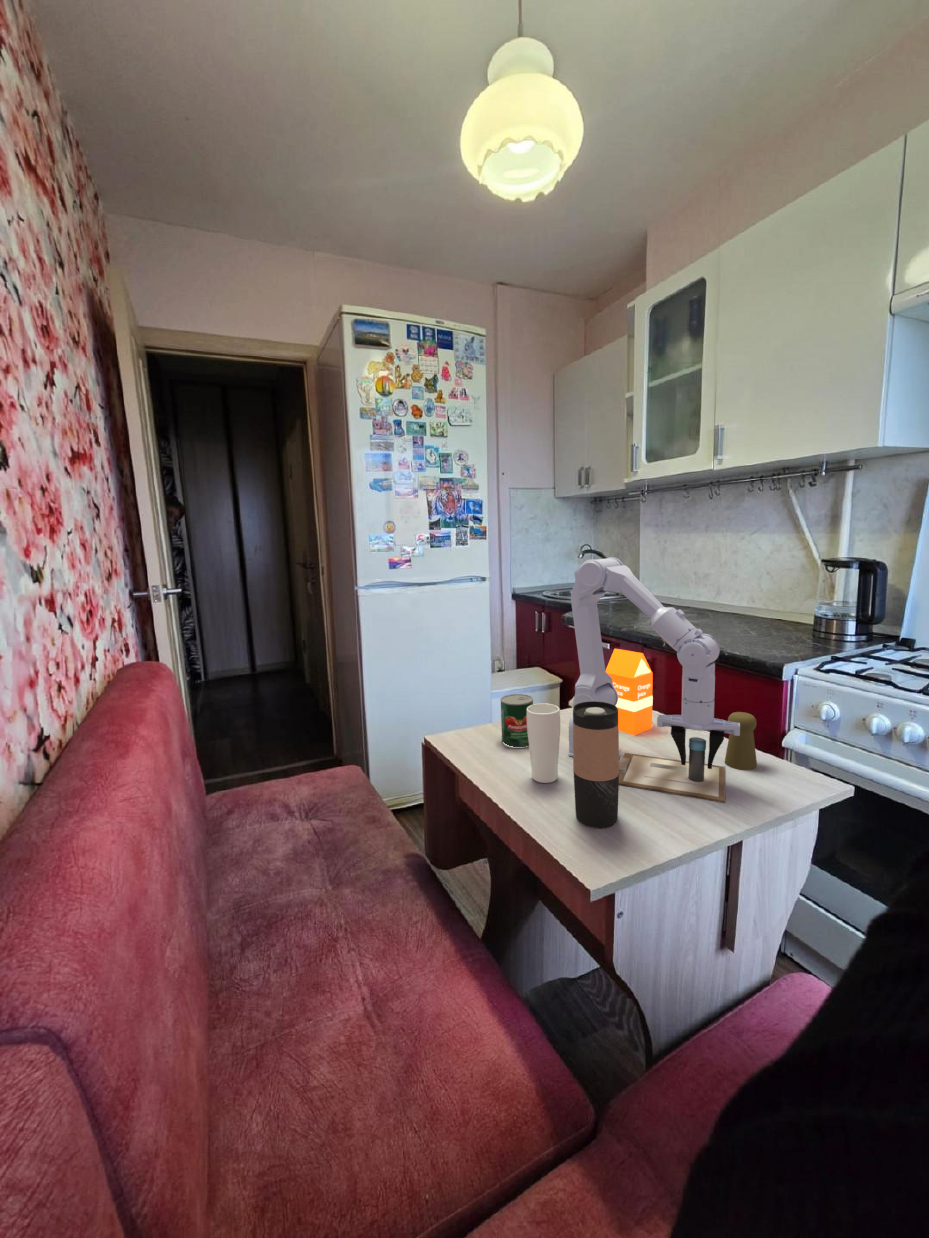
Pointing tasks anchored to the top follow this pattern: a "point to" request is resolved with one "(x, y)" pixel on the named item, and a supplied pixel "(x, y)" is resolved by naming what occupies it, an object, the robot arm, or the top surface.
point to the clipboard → (670, 777)
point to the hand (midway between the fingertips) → (696, 764)
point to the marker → (696, 759)
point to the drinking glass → (543, 741)
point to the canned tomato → (515, 719)
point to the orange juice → (632, 690)
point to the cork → (742, 743)
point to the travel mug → (596, 763)
